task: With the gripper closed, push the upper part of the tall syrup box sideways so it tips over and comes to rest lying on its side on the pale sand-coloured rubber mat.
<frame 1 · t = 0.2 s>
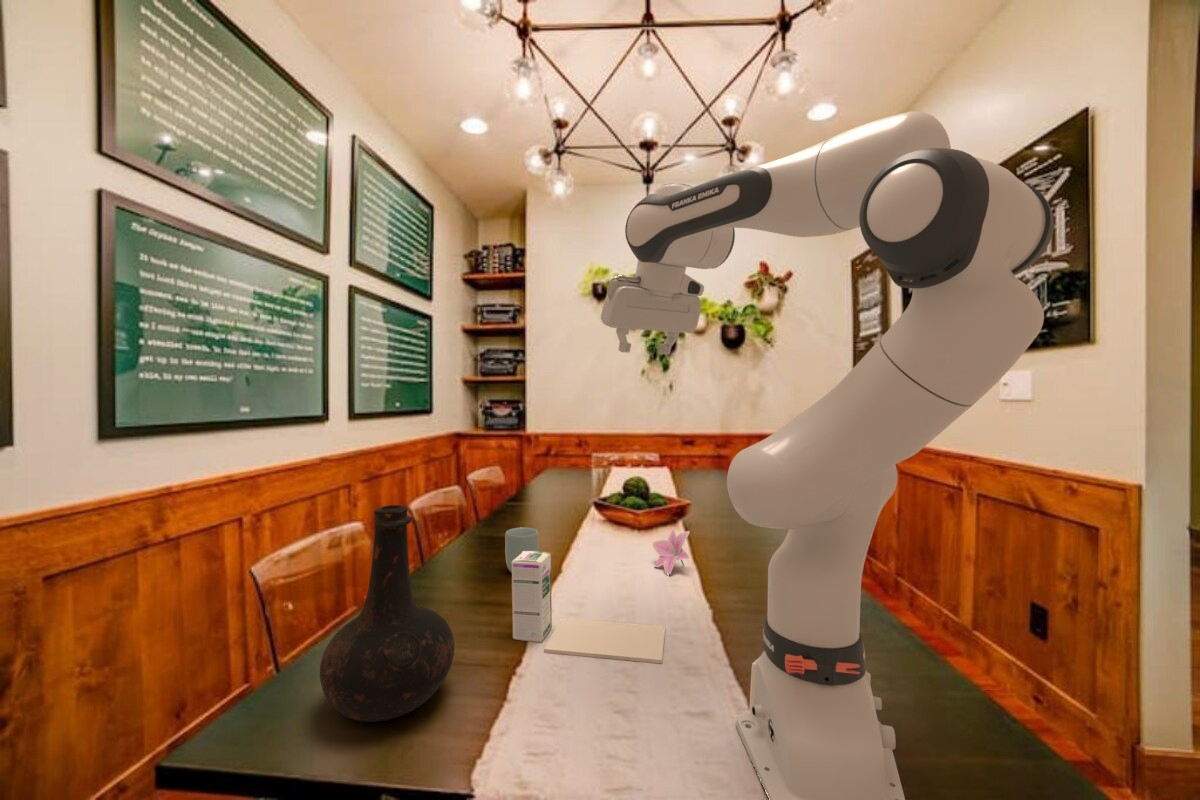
hand: (644, 352, 98), 52 cm above the table, tool tilted 20°, fingers open, 8 cm apart
cup: (521, 572, 126), on the table
lily: (671, 570, 129), on the table
glass bottle: (390, 702, 74), on the table
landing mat: (607, 640, 92), on the table
syrup box: (532, 635, 94), on the table
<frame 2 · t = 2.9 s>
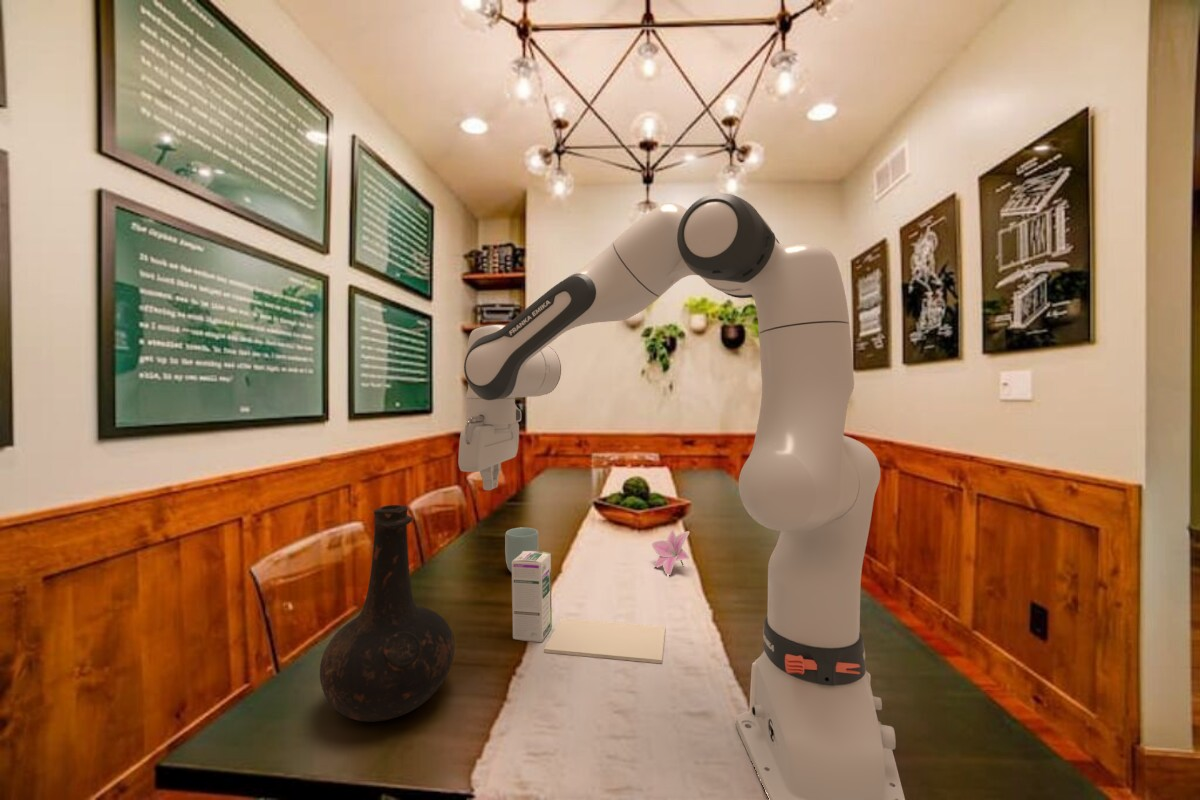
hand: (490, 488, 95), 26 cm above the table, tool pointing down, fingers closed
nothing on the table moved.
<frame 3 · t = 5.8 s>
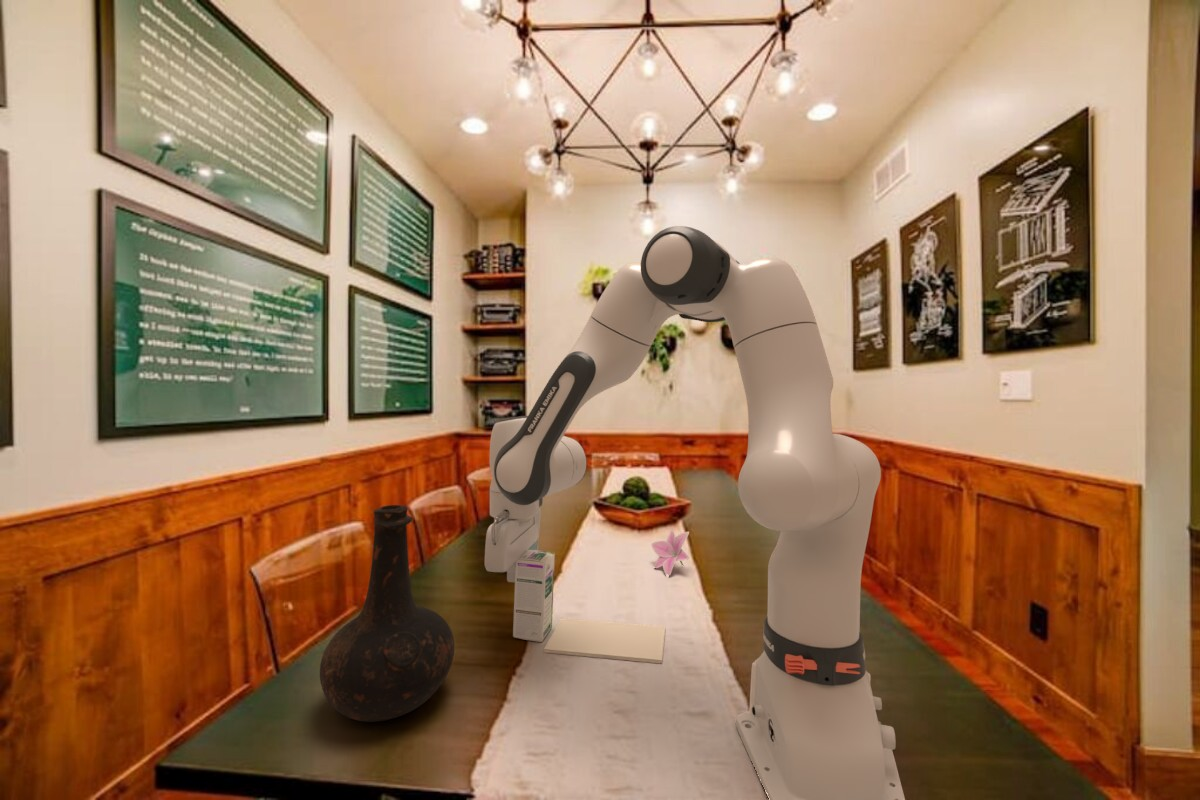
hand: (514, 579, 95), 10 cm above the table, tool pointing down, fingers closed
syrup box: (532, 634, 94), on the table, touching gripper
everything else where it was.
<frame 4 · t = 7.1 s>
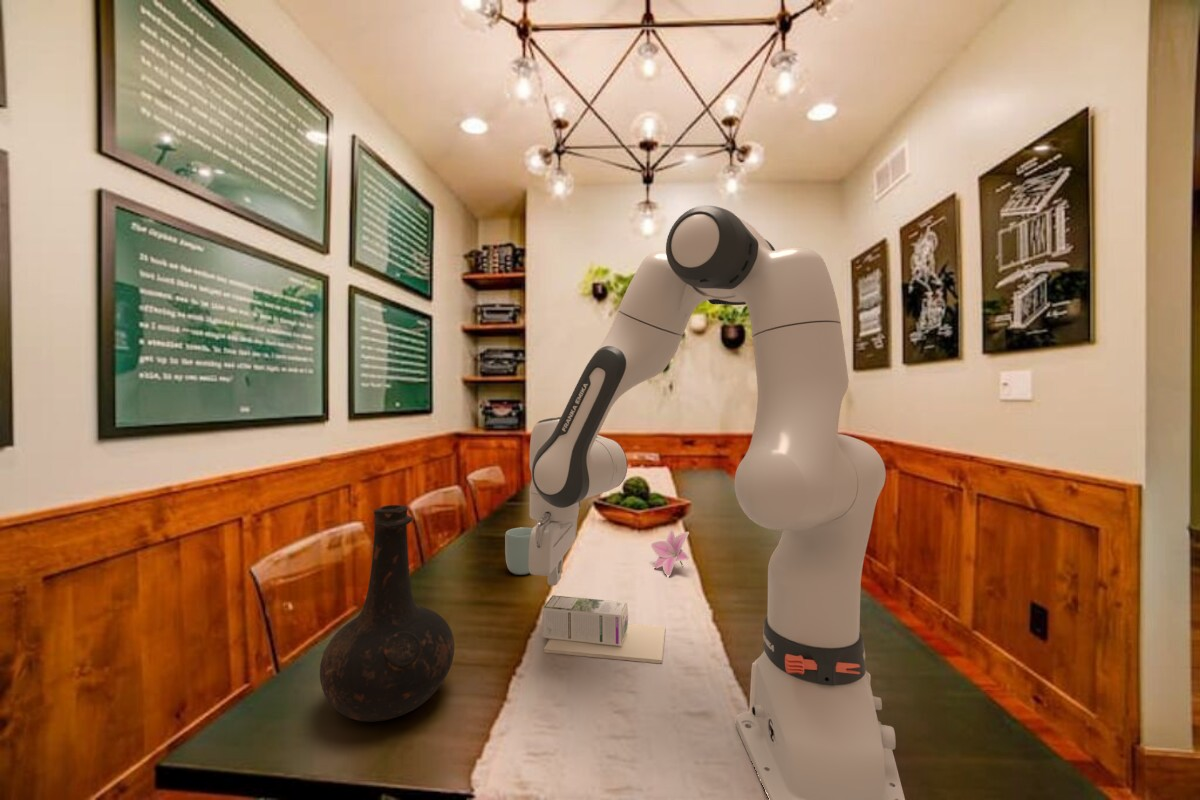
hand: (554, 582, 93), 10 cm above the table, tool pointing down, fingers closed
syrup box: (546, 615, 94), point 4 cm above the table, touching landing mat
everything else where it was.
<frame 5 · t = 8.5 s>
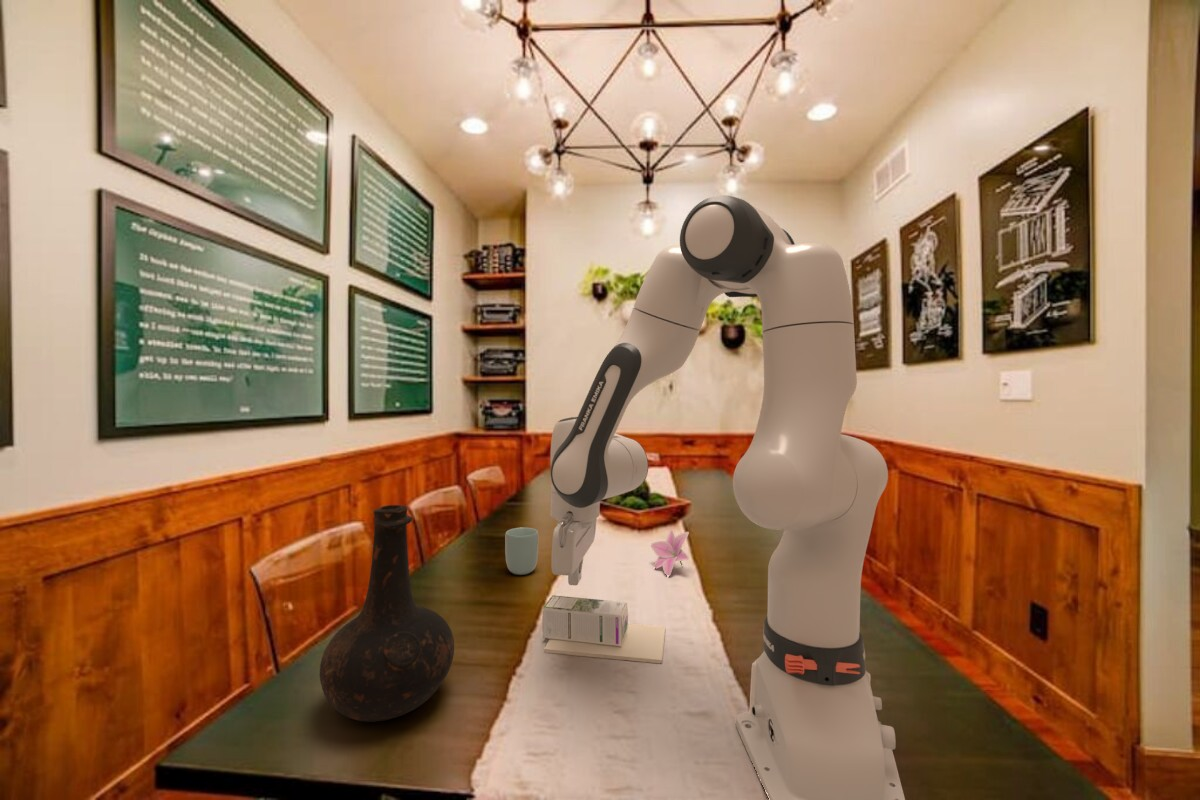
hand: (574, 582, 93), 10 cm above the table, tool pointing down, fingers closed
nothing on the table moved.
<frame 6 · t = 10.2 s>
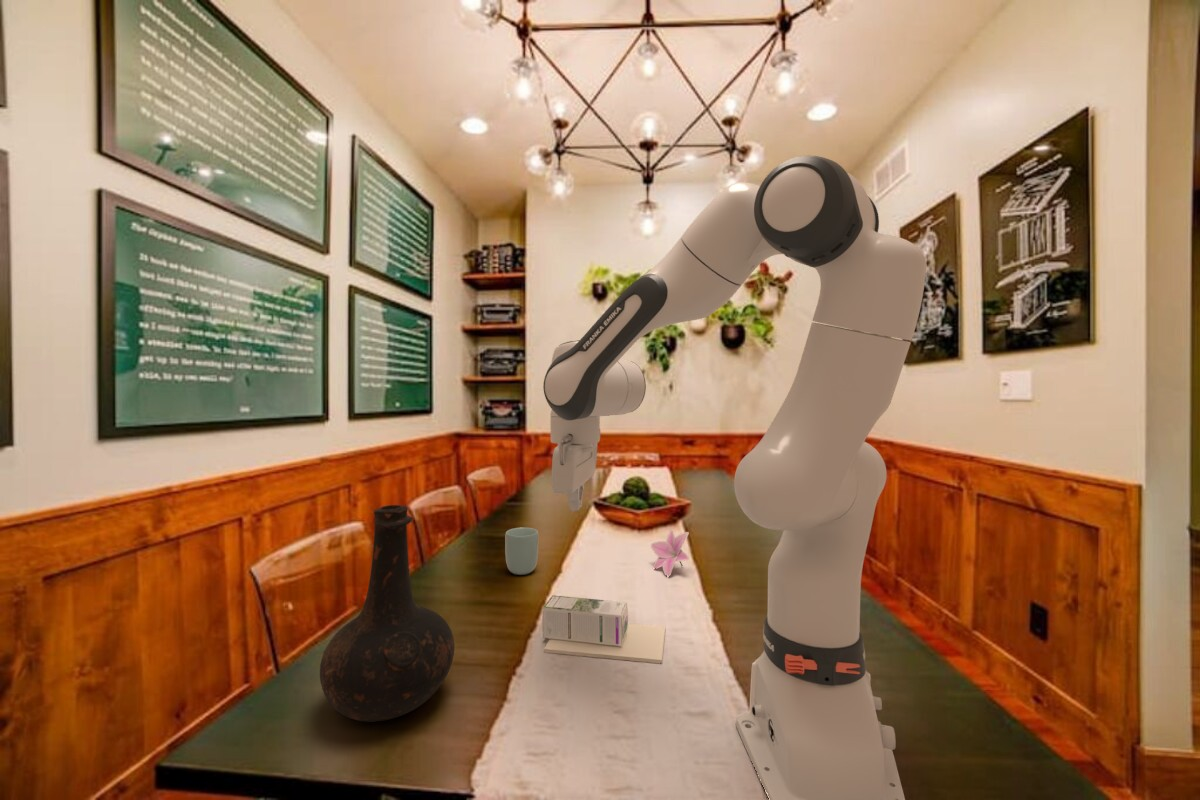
hand: (575, 509, 92), 23 cm above the table, tool pointing down, fingers closed
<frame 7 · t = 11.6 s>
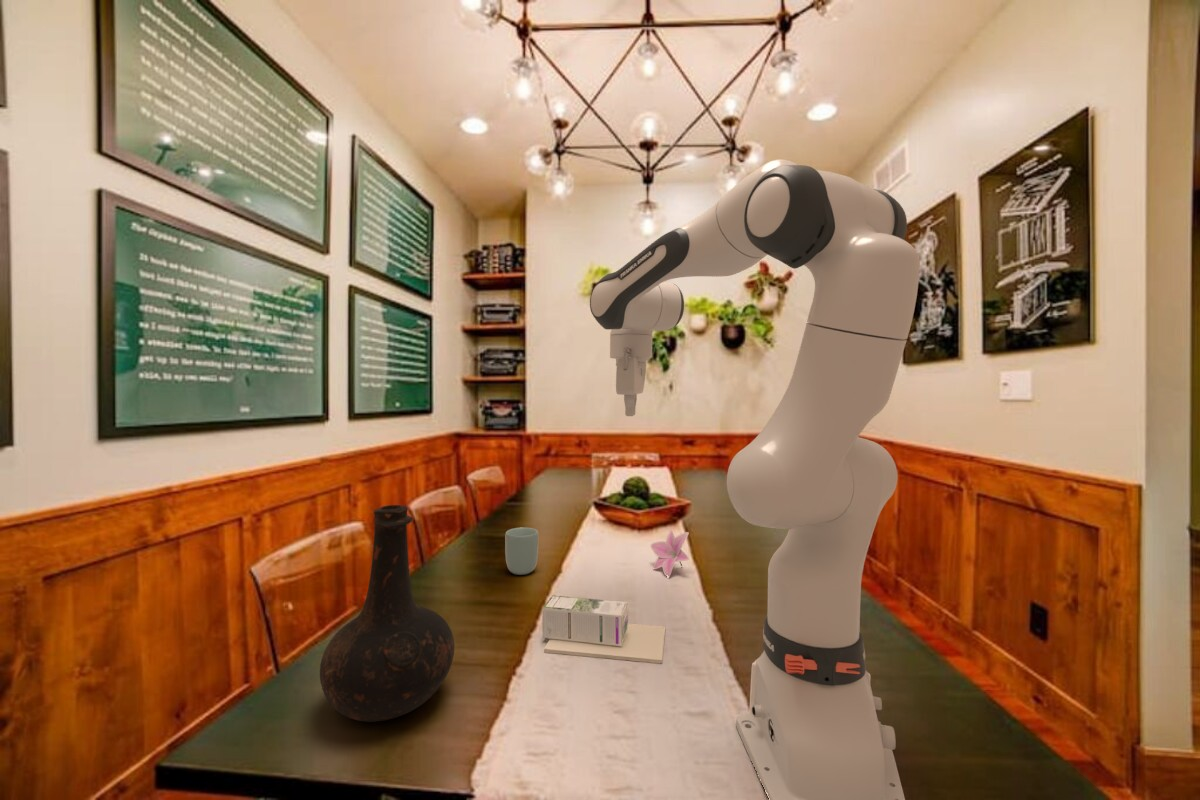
hand: (630, 415, 108), 39 cm above the table, tool pointing down, fingers closed
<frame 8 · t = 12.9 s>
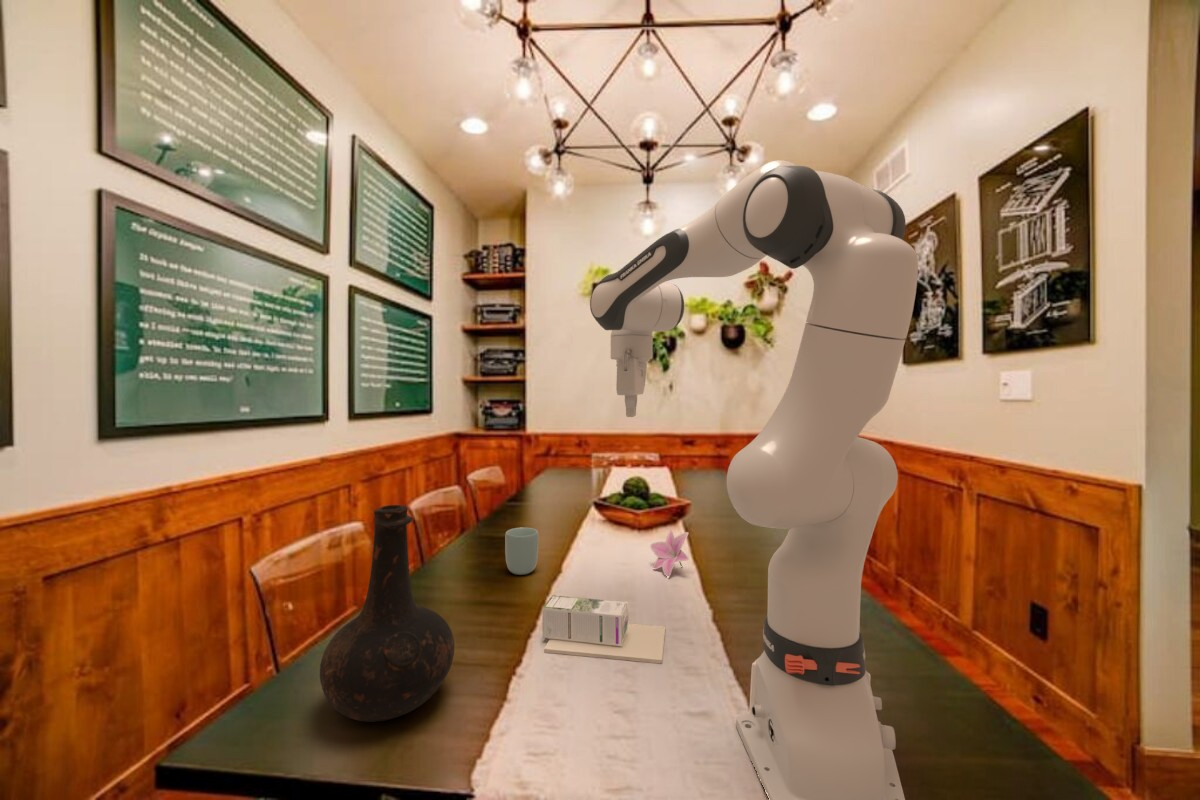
hand: (631, 416, 108), 39 cm above the table, tool pointing down, fingers closed
at the end: syrup box tilted 91°; syrup box 11.4 cm from the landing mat (horizontally) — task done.
